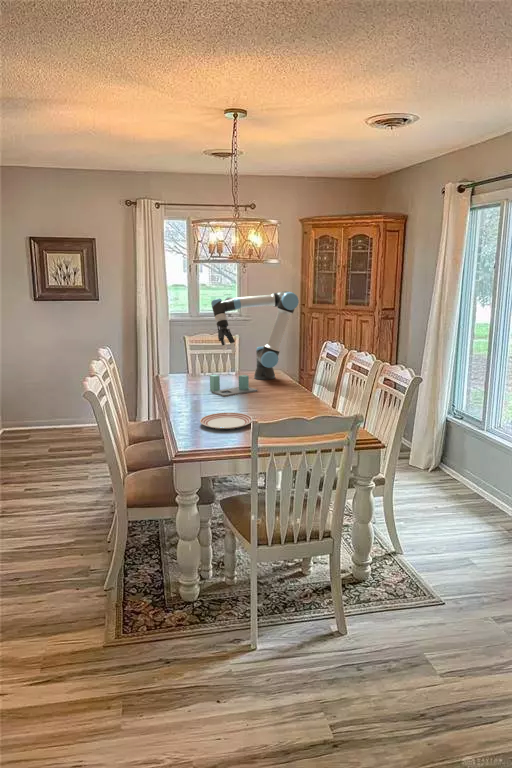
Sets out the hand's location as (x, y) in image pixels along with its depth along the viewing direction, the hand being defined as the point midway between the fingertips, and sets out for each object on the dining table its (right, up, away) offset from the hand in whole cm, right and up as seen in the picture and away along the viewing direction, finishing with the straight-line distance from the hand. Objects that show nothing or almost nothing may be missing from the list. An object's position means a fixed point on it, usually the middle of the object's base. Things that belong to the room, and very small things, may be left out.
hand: (229, 351), depth 395 cm
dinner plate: (+2, -44, -85) cm, 96 cm away
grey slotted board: (+4, -27, -10) cm, 29 cm away
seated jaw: (+9, -26, -6) cm, 29 cm away
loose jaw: (-10, -26, -4) cm, 28 cm away
